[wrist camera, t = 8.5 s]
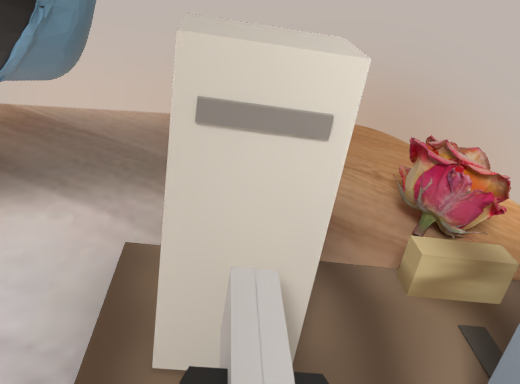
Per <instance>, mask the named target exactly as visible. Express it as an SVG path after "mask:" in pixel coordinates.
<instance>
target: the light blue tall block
mask: <svg viewBox="0 0 520 384" xmlns="http://www.w3.org/2000/svg"><path fill="white" fill-rule="evenodd" d="M488 384H520V324H519V325H518V327H517V329H516V331H515V333H514V335H513V337H512V339H511V341H510V342H509V344H508V346H507V348H506V350H505V352H504V354H503V356H502V358H501V359H500V361H499V363H498V365H497V367H496V369H495V371H494V373H493V375H492V376H491V378H490V380H489V382H488Z"/></svg>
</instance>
